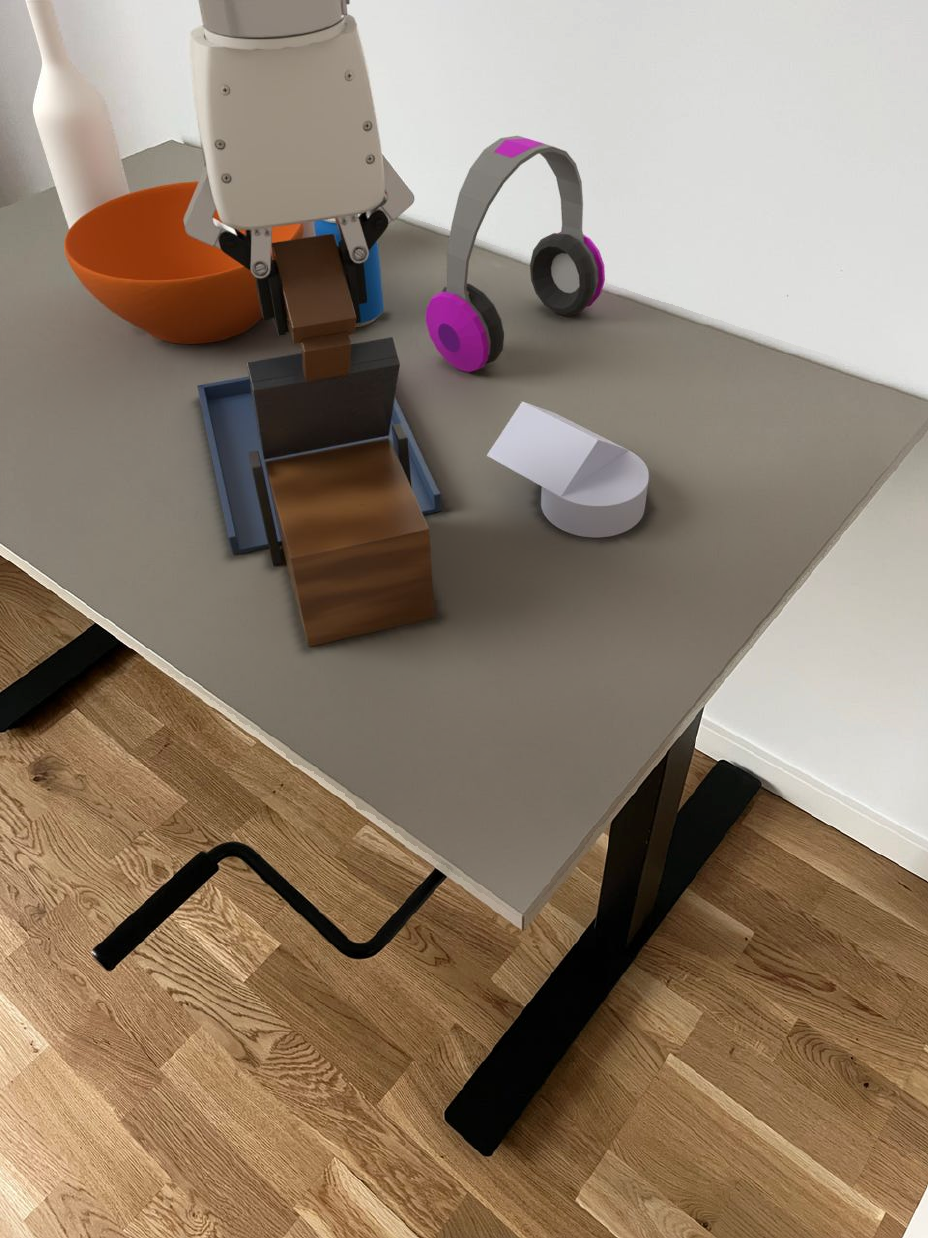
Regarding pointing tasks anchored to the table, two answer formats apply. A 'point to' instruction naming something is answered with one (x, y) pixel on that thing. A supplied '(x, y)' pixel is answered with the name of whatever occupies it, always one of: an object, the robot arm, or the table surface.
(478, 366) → the headphones
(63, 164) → the bottle
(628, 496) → the wedge on round base
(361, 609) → the stand
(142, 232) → the bowl
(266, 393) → the dark piece
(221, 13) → the robot arm
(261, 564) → the table surface
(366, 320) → the beverage can
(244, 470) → the tray
